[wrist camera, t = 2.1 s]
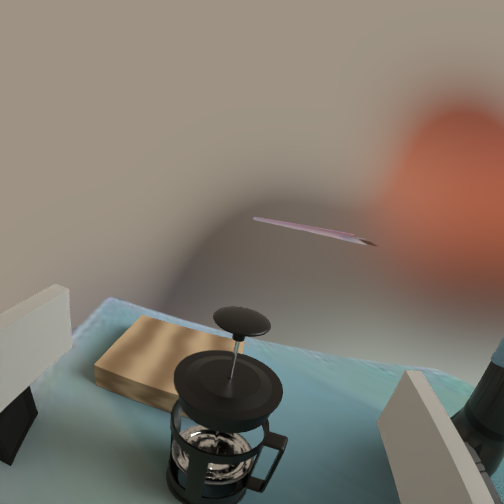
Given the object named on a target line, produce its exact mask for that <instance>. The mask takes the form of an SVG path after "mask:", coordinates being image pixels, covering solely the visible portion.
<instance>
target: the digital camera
mask: <svg viewBox="0 0 504 504" xmlns="http://www.w3.org/2000/svg"><path fill="white" fill-rule="evenodd" d="M37 414H38V412H37V409H36V406H35V402H34V399H33V396H32V393H31V389H30V386H28V387H27V388H26V389H25V390H24V391H23V392H22V393H20V394H19V395H18V396H17V397H16V398H15V399H14V400H13V401H12V402H11V403H10V404H9V405H8V406H7V407H6V408H4V409H3V410H2V411H1V412H0V461H2V462H4V463H6V464H8V465H10V466H11V465H12V463H13V460H14V458H15V456H16V454H17V452H18V450H19V448H20V446H21V444H22V442H23V440H24V438H25V436H26V434H27V432H28V431H29V429H30V427H31V425H32V423H33V421H34V419H35V418H36V416H37ZM1 453H2V454H1ZM6 461H7V462H6Z"/></svg>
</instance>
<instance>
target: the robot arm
mask: <svg viewBox="0 0 504 504" xmlns="http://www.w3.org/2000/svg"><path fill="white" fill-rule="evenodd" d="M72 347H73V345H72V334H71V321H70V301H69V289H68V288H65V287H63V286H60V285H57V284H54V285H52V286H51V287H48V288H46V289H45V290H43V291H41V292H39V293H37V294H35V295H33V296H32V297H30V298H28V299H26V300H24V301H22V302H21V303H19V304H17V305H15V306H13V307H12V308H10V309H8V310H6V311H4V312H3V313H1V314H0V412H1V411H2V410H3V409H4V408H6V407H7V406H8V405H9V404H10V403H11V402H12V401H13V400H14V399H15V398H16V397H17V396H18V395H19V394H20V393H22V392H23V391H24V390H25V389H26V388H27V387H28V386H29V385H30V384H31V383H33V382H34V381H35V380H36V379H37V378H38V377H39V376H40V375H41V374H42V373H44V372H45V371H46V370H47V369H48V368H49V367H50V366H51V365H53V364H54V363H55V362H56V361H57V360H58V359H59V358H61V357H62V356H63V355H64V354H65V353H66V352H67V351H69V350H70V349H71V348H72ZM377 425H378V428H379V431H380V434H381V438H382V441H383V444H384V447H385V450H386V454H387V457H388V460H389V464H390V467H391V470H392V474H393V477H394V481H395V484H396V488H397V491H398V495H399V499H400V502H401V504H503V503H502V501H501V499H500V497H499V495H498V493H497V491H496V489H495V487H494V485H493V483H492V481H491V479H490V477H491V476H492V475H493V474H494V473H495V472H496V470H497V469H498V467H499V465H500V463H501V461H502V459H503V457H504V337H503V338H502V340H501V342H500V344H499V346H498V347H497V349H496V351H495V352H494V353H493V355H492V357H491V362H490V364H489V365H488V367H487V369H486V371H485V373H484V375H483V376H482V378H481V380H480V381H479V383H478V385H477V386H476V388H475V390H474V391H473V393H472V395H471V396H470V398H469V400H468V401H467V403H466V404H465V406H464V407H463V408H462V409H461V410H459V411H458V412H457V413H456V414H455V415H453V416H452V417H451V418H449V416H448V414H447V413H446V411H445V409H444V407H443V406H442V404H441V402H440V401H439V399H438V398H437V396H436V394H435V393H434V391H433V389H432V388H431V386H430V385H429V383H428V381H427V380H426V378H425V377H424V375H423V374H422V372H421V371H411V370H405V372H404V374H403V376H402V378H401V380H400V381H399V383H398V385H397V387H396V389H395V391H394V393H393V394H392V396H391V398H390V400H389V401H388V403H387V405H386V407H385V408H384V410H383V412H382V413H381V415H380V417H379V418H378V420H377Z"/></svg>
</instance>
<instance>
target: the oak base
mask: <svg viewBox="0 0 504 504" xmlns="http://www.w3.org/2000/svg"><path fill="white" fill-rule="evenodd" d="M244 344H245V342H240V344H239V349H238V353H240V354H242V353H243V349H244ZM234 345H235V340H233V339H229V338H225V337H221V336H217V335H213V334H209V333H205V332H201V331H197V330H194V329H190V328H186V327H183V326H179V325H175V324H172V323H168V322H165V321H161V320H158V319H155V318H151V317H148V316H145V315H141V316H140V317H139V318H138V320H137V321H136V322H135V323H134V324H133V325H132V326H131V327H130V328H129V329H128V330H127V331H126V332H125V333H124V334H123V335H122V336H121V337H120V338H119V339H118V340H117V341H116V342H115V343H114V344H113V345H112V346H111V347H110V348H109V349H108V350H107V351H106V352H105V353H104V355H103V356H102V357H101V358H100V359H99V360H98V361H97V362H96V363H95V364H94V372H95V380H96V385H98V386H100V387H102V388H105V389H107V390H110V391H112V392H114V393H117V394H119V395H122V396H125V397H127V398H130V399H133V400H135V401H138V402H141V403H144V404H146V405H149V406H152V407H155V408H158V409H161V410H164V411H167V412H171V411H172V408H173V405H174V404H175V402H176V401H177V400H178V399H179V395H178V393H177V391H176V390H175V386H174V382H173V381H174V371H175V369H176V366H177V365H178V364H179V362H180V361H181V360H183V359H184V358H185V357H187V356H189V355H191V354H194V353H197V352H201V351H208V350H224V351H231V352H233V350H234ZM181 416H184V417H187V418H189V417H188V416H187V415H186V414H185V413H184V412H183V410H182V415H181Z"/></svg>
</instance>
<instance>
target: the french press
mask: <svg viewBox="0 0 504 504" xmlns="http://www.w3.org/2000/svg"><path fill="white" fill-rule="evenodd" d="M213 319H214V321H215V323H216V324H217V325H218V326H219V327H220V328H222V329H224V330H225V331H227V332H230V333H232V334H233V337H232V338H233V340H235V345H234V350H233V352H231V351H224V350H208V351H201V352H197V353H194V354H191V355H189V356H187V357H185V358H184V359H183V360H181V361H180V362H179V364H178V365H177V366H176V369H175V371H174V381H173V382H174V386H175V390H176V391H177V393H178V395H179V399H178V400H177V401H176V402H175V404H174V405H173V408H172V411H171V422H170V428H171V451H170V459H169V467H168V470H167V484H168V487H169V489H170V491H171V492H172V494H173V495H174V496H175V497H176V498H177V499H178V500H179V501H180V502H182V503H183V504H237V503H238V502H239V501H240V500H241V499H242V498H243V496H244V495H245V493H246V490H247V489H250V490H253V491H256V492H260V493H262V492H263V491H264V490H265V488H266V486H267V484H268V482H269V480H270V479H271V477H272V475H273V473H274V471H275V469H276V467H277V465H278V463H279V461H280V459H281V457H282V455H283V453H284V451H285V448H286V445H287V442H288V438H287V437H286V436H283V435H279V434H276V433H273V432H270V431H269V422H268V417H269V416H270V414H271V413H272V412H273V411H274V410H275V409H276V408H277V407H278V405H279V404H280V402H281V399H282V395H283V388H282V384H281V381H280V379H279V378H278V376H277V375H276V374H275V373H274V372H273V371H272V370H271V369H270V368H269V367H268V366H266V365H265V364H264V363H262V362H260V361H258V360H256V359H254V358H252V357H249V356H247V355H244V354H240V353H238V349H239V344H240V342H242V341H244V339H245V336H248V337H254V336H261V335H264V334H266V333H267V332H268V331H269V330H270V328H271V324H270V322H269V320H268V319H267V318H266V317H265V316H263V315H262V314H260V313H258V312H256V311H254V310H251V309H248V308H243V307H234V306H231V307H224V308H220V309H218V310H217V311H216V312H215V313H214V315H213ZM182 410H183V412H184V413H185V414H186V415H187V416H188V417H189V418H190V419H192V420H193V421H194V422H196V423H197V424H199V425H195V426H191V427H189V428H186V429H185V430H183V431H182V432H180V426H181V415H182ZM261 425H262V427H263V430H264V439H263V441H262V442H261V443H260V444H259V445H258V446H257V447H255V448H253V449H252V448H251V446H250V444H249V443H248V442H247V441H246V439H245V438H243V437H242V436H241V435H240V434H238V433H241V432H247V431H250V430H253V429H255V428H257V427H259V426H261ZM263 446H267V447H270V448H273V449H277V450H279V452H278V454H277V456H276V458H275V460H274V462H273V464H272V466H271V468H270V470H269V472H268V474H267V476H266V478H265V480H261V479H258V478H255V477H252V476H251V475H252V472H253V470H254V468H255V465H256V463H257V461H258V458H259V456H260V453H261V451H262V449H263ZM256 454H257V455H256ZM255 455H256V458H255V460H254V456H255ZM253 462H254V463H253ZM179 469H180V470H181V471H182V472H183V473H184V474H185V475H186V476H187V480H186V489H185V488H183V487H182V486H181V485H180V484H179V481H178V471H179ZM250 469H251V470H250ZM236 481H237V483H236V488H235V490H234V491H233V493H232V494H231V495H229V496H226V497H220V498H209V497H203V496H202V492H203V487H204V484H206V485H213V486H214V485H226V484H230V483H233V482H236Z"/></svg>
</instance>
